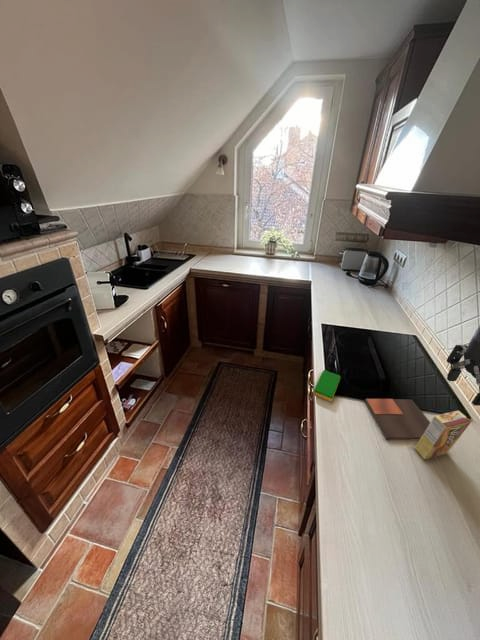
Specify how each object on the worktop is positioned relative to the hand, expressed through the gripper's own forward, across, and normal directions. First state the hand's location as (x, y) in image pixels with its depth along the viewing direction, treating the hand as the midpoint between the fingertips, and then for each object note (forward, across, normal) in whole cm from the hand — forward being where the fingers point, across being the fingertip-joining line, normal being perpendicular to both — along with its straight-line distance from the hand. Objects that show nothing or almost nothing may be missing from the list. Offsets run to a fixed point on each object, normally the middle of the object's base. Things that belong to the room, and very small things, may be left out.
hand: (462, 391), depth 66 cm
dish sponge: (+25, +26, +23) cm, 43 cm away
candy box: (+25, 0, -1) cm, 25 cm away
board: (+25, +12, +2) cm, 28 cm away
